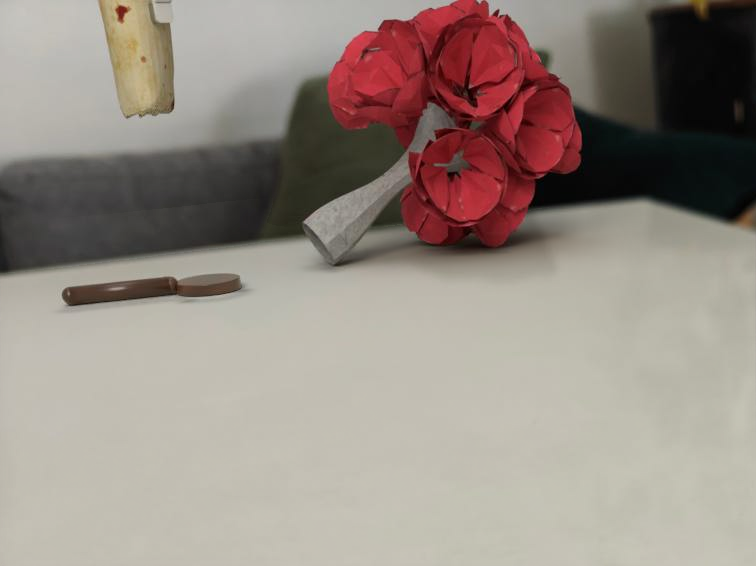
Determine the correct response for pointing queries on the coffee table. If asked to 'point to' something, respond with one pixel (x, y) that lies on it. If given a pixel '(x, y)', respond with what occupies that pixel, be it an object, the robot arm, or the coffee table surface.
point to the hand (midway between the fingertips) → (139, 26)
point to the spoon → (152, 288)
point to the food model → (139, 57)
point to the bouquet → (449, 127)
